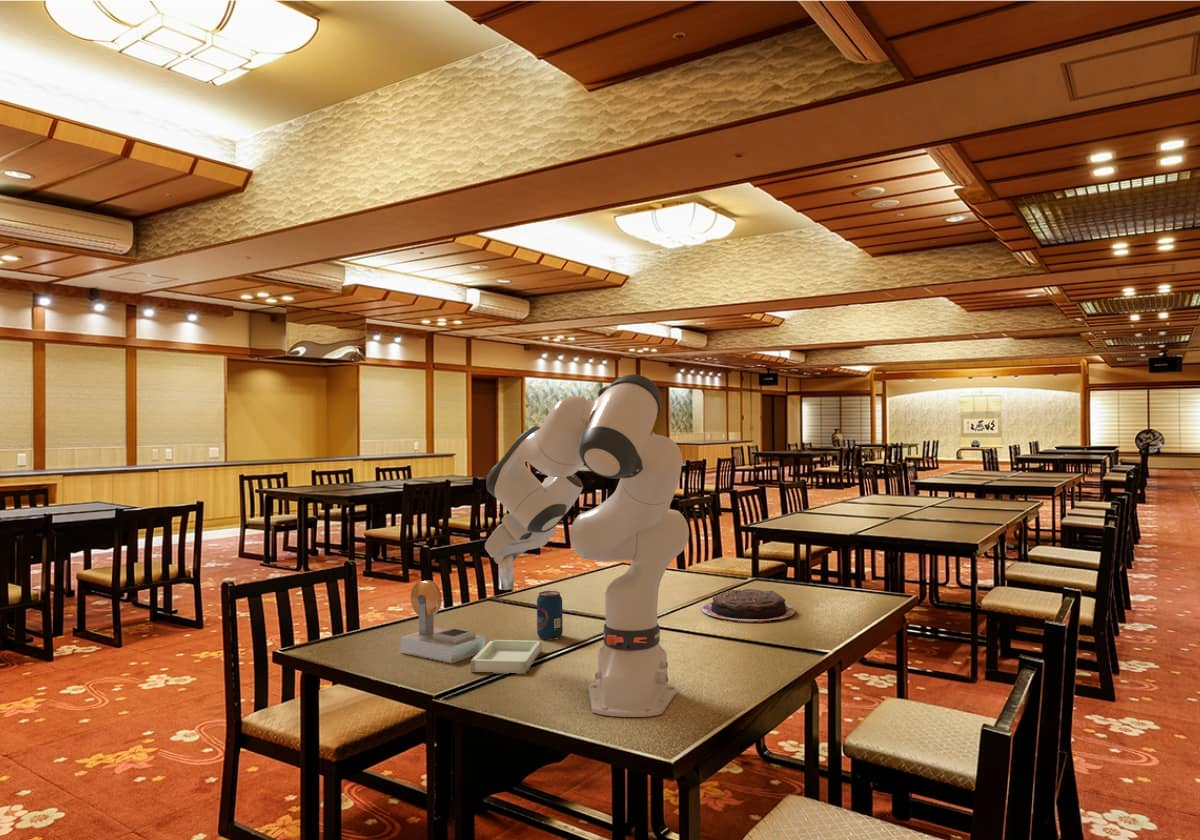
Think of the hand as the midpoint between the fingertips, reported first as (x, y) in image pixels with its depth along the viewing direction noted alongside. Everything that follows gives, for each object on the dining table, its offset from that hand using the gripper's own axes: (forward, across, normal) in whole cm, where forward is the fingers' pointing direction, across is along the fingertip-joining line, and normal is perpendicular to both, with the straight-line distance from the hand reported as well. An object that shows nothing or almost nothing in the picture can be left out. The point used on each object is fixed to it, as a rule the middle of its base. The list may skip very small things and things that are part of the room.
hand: (504, 559), depth 189 cm
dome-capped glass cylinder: (+4, 0, +5) cm, 7 cm away
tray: (+17, 0, +18) cm, 25 cm away
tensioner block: (+31, +2, +4) cm, 32 cm away
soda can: (+21, -23, +15) cm, 34 cm away
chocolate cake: (-3, -77, +39) cm, 87 cm away
